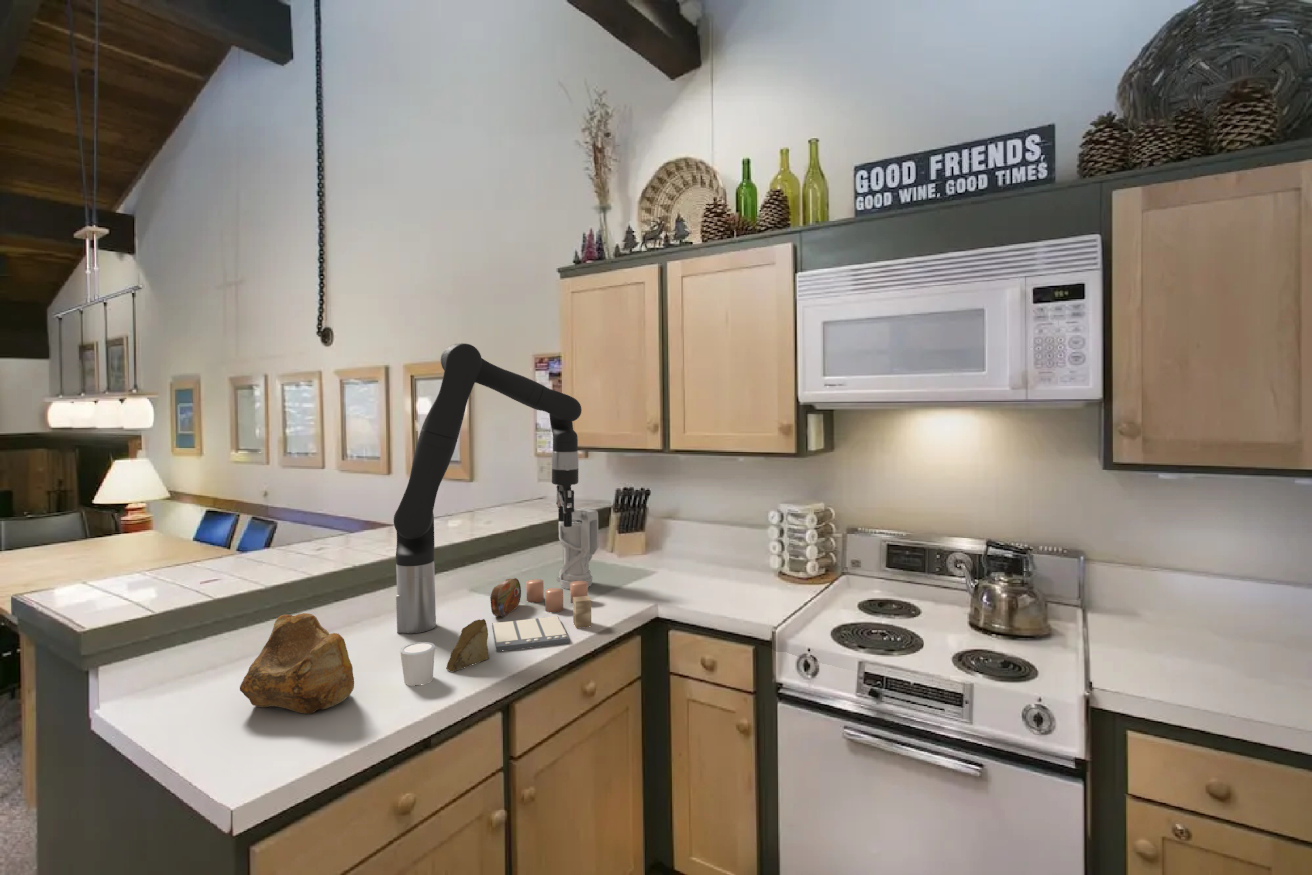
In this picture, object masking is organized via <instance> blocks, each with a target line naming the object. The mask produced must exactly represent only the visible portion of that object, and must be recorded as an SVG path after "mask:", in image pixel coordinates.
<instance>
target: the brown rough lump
mask: <svg viewBox="0 0 1312 875" xmlns="http://www.w3.org/2000/svg"><path fill="white" fill-rule="evenodd" d="M351 662H352V661H351V659H350V658H349V652H348V648H347V644H346V641H345V639H344V637H342V636H341V635H340V634H339V633H338V632H337V633H336V632H333V633H330V632H329V631H328V630H327V629H325V627H323V626H322V625H321V624H320V622H319V619H318V618H317V617H316V615H313V614H312V613H306V612H304V613H298V614H295V615H292V614H282V615H279V616H278V617H277V618H276V619H275V622H274V623H273V628H272V631H271V633H270V635H269V637H268V640H267V642H266V643H265V645H264V646H263V647H262V650H261V652H260V653H259V654H258V656H257V657H256V658H255V659H254V660H253V662H252V663H251V665H250V666H249V668H248V671H247V673H246V674H245V675H244V678H243V680H242V682H241V683H240V685H239V691H240V692H241V693H243V695H244V696H245V697H246V698H247V699H248V700H249V702H250V704H251V705H252V706H253V707H254V706H255V707H260V708H267V707H280V708H283V709H287V710H290V711H293V712H295V713H296V712H297V713H299V714H300V713H301V714H306V713H308V715H312V714H314V713H315V712H316V711H318V710H327V709H329V708H331V707H334V706H336V705H338V704H341V703H342V702H343V701H345V700H346V698H348V697H349V696H350V695H351V694H352V692H353V690H354V689H355V677H354V673H353V672H354V671H353V664H352V663H351Z"/></svg>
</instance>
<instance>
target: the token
mask: <svg viewBox="0 0 1312 875" xmlns="http://www.w3.org/2000/svg"><path fill="white" fill-rule="evenodd" d="M572 612H573V614H572V616H573V617H572V618H573V620H572V621H573V622H572V624H573V623H574V624H573V626H574V625H575V626H574V628H575V629H576V628H577V629H581V628H580V627H585V628H590V627H589V626H591V627H592V599H591V598H590V597H589V595H588V596H581V597H573V604H572Z"/></svg>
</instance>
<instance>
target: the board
mask: <svg viewBox="0 0 1312 875" xmlns="http://www.w3.org/2000/svg"><path fill="white" fill-rule="evenodd" d="M491 624H492V625H491V627H492V628H491V629H492V633H493V634H492V635H493V639H494V640H493V641H494V645H495V651H500V652H503V651H502V650H508V651H515V650H514V649H517V650H521V649H522V648H525V649H530V647H533V648H540V647H539V646H541V647H546V646H549V647H550V646H555V645H564V644H569V643H570V638H569V635H568V633H567V631H566V630H565V628H564V626H563V624H562V621H561V620H560V617H559V616H558V615H555V616H548V617H538V618H528V619H517V620H511V621H501V622H500V621H499V622H493V623H491ZM522 650H523V649H522Z"/></svg>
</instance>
